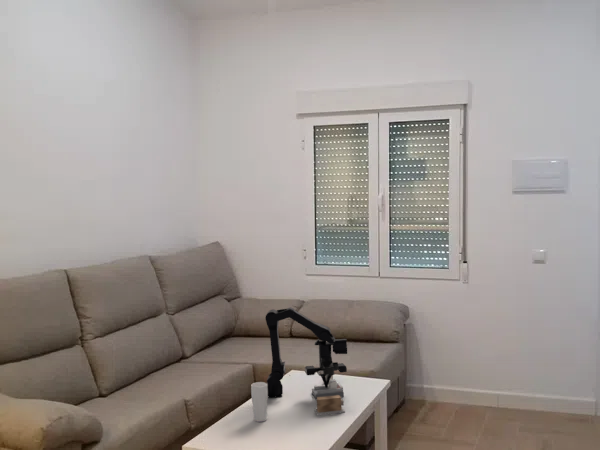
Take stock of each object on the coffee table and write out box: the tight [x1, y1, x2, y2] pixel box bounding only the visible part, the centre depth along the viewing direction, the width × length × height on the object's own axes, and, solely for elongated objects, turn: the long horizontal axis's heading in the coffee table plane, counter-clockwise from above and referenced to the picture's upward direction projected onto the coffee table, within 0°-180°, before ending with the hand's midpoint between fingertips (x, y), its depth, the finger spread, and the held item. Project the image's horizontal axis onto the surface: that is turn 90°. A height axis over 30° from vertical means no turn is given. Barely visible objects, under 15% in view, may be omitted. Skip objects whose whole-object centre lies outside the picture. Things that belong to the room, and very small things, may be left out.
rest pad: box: [314, 406, 346, 416], centre depth 260 cm, size 12×6×1 cm, turn 100°
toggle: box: [329, 378, 338, 389], centre depth 282 cm, size 3×4×4 cm
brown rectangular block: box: [316, 395, 345, 412], centre depth 260 cm, size 11×3×6 cm, turn 101°
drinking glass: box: [250, 381, 268, 423], centre depth 253 cm, size 7×7×15 cm
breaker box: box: [311, 382, 345, 400], centre depth 282 cm, size 13×9×4 cm
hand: (326, 387), depth 281 cm, fingers closed
